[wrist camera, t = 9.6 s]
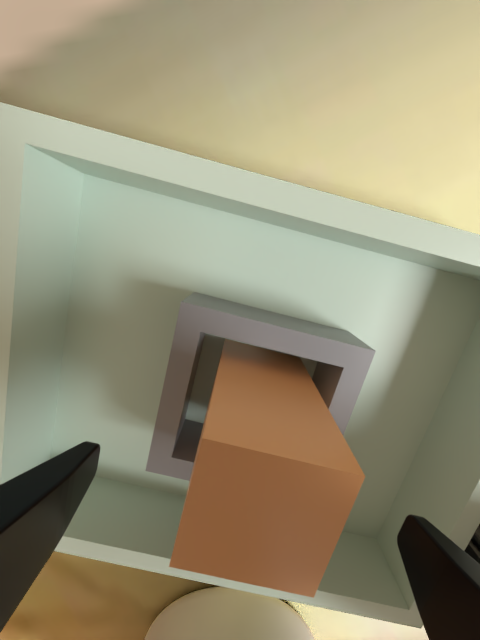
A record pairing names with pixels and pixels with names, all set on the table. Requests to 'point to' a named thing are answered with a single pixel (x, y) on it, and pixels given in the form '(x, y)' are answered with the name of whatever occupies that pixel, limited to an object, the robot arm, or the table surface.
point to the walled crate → (233, 324)
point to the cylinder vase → (228, 618)
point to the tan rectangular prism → (266, 477)
